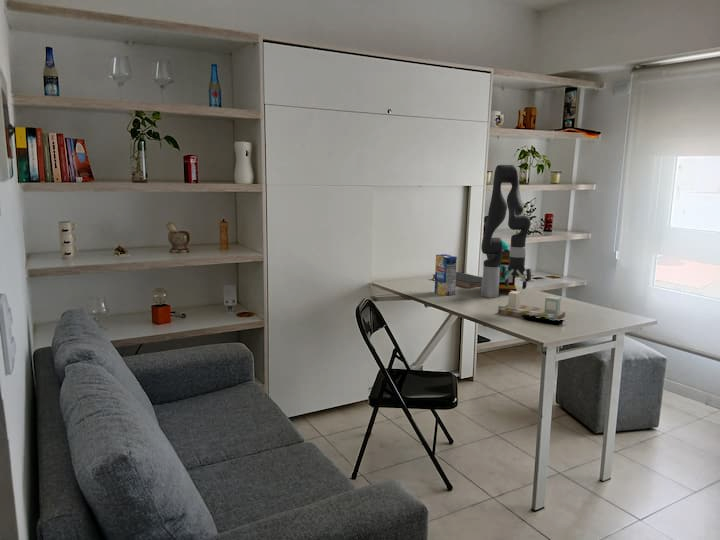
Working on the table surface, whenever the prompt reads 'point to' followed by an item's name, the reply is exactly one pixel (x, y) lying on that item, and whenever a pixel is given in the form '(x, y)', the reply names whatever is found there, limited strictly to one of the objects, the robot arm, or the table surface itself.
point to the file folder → (467, 280)
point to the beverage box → (445, 274)
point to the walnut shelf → (528, 312)
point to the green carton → (552, 305)
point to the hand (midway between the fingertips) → (515, 287)
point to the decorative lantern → (506, 263)
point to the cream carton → (514, 299)
